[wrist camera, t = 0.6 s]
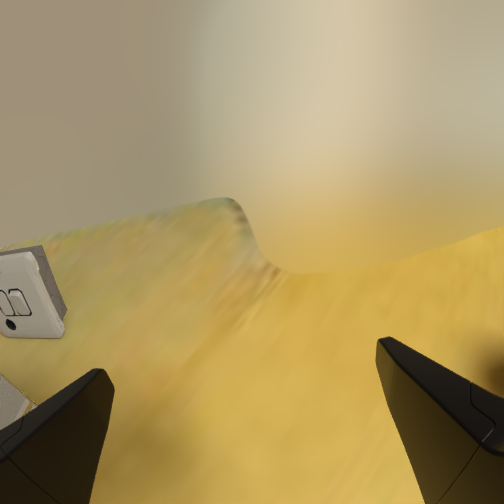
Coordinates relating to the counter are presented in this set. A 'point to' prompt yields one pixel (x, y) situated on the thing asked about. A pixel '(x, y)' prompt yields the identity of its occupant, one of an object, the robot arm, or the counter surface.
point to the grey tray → (12, 403)
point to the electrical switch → (29, 296)
